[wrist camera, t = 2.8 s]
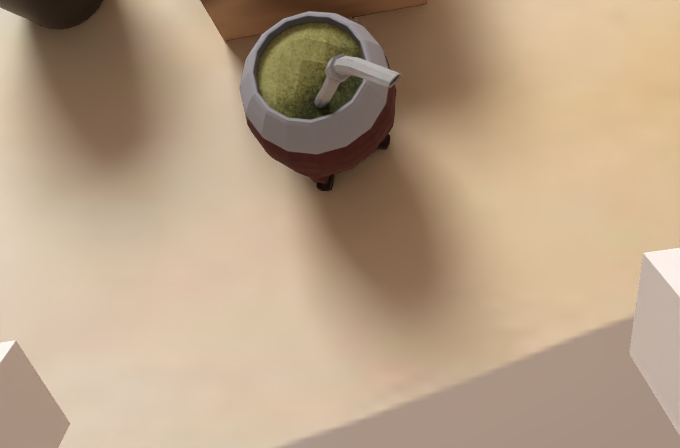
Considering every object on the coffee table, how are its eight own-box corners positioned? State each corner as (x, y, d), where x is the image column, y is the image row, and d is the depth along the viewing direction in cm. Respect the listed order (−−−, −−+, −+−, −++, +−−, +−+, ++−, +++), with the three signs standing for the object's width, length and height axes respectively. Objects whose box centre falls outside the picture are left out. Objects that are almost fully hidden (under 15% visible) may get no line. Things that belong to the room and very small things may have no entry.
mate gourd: (283, 74, 32) (180, -154, 17) (420, 86, 31) (432, -147, 16) (259, 198, 31) (126, 62, 16) (402, 215, 29) (399, 86, 15)
